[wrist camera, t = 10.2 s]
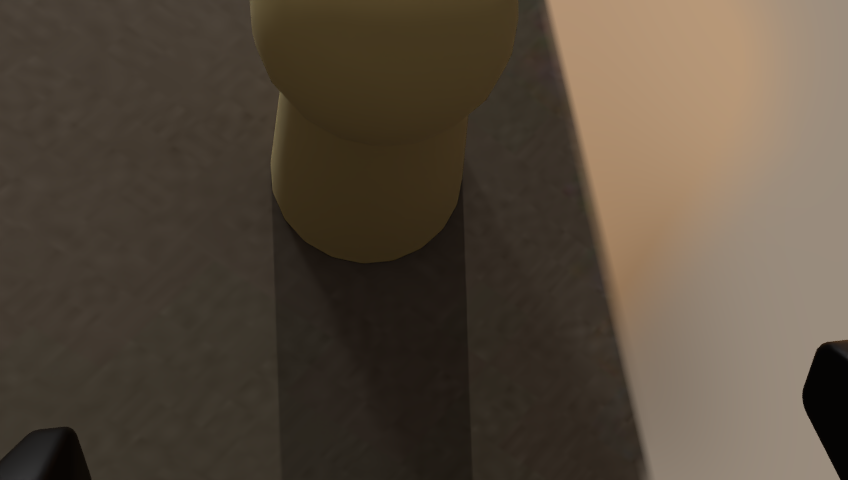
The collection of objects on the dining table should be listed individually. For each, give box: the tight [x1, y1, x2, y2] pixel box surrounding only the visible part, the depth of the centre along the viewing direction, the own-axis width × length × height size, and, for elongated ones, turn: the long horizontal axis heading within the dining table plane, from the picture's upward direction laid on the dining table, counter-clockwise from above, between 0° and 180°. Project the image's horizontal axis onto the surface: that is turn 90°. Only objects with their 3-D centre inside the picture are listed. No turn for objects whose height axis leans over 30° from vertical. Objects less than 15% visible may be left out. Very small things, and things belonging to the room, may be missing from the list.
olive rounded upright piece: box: [250, 0, 518, 263], centre depth 18 cm, size 6×6×11 cm
